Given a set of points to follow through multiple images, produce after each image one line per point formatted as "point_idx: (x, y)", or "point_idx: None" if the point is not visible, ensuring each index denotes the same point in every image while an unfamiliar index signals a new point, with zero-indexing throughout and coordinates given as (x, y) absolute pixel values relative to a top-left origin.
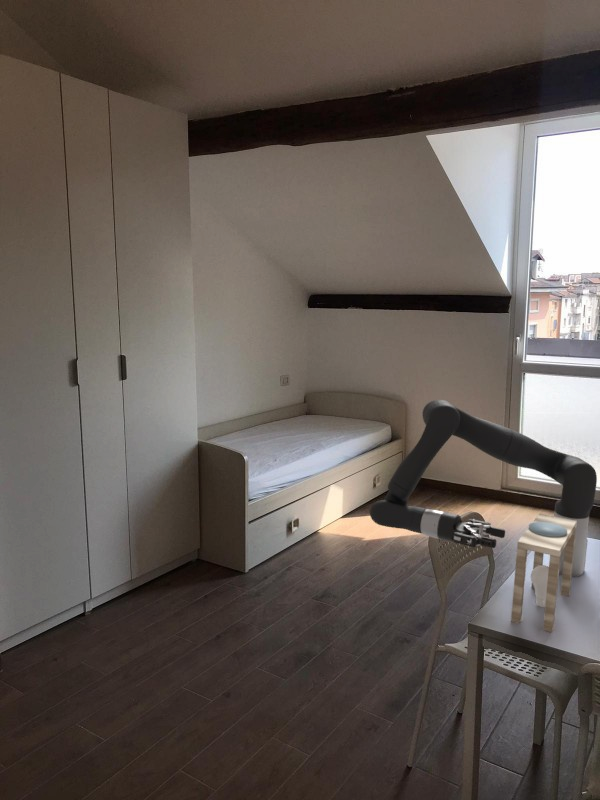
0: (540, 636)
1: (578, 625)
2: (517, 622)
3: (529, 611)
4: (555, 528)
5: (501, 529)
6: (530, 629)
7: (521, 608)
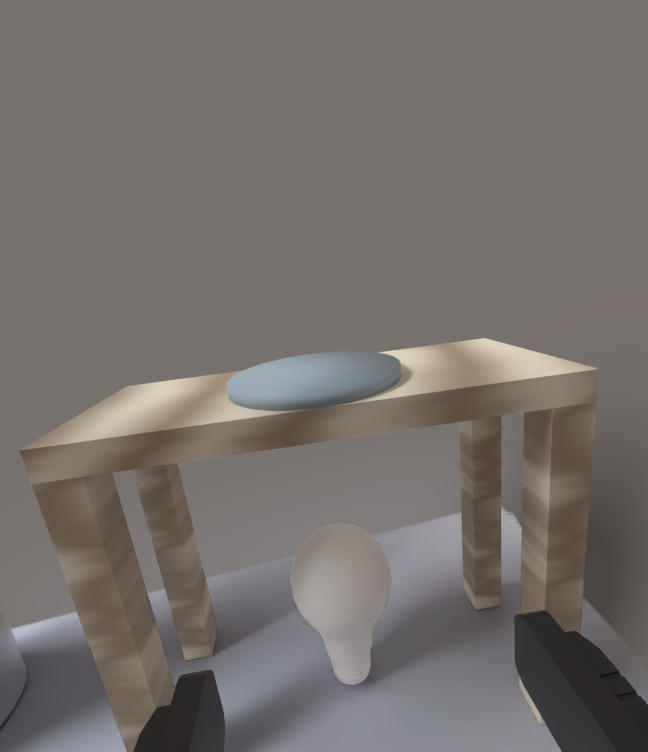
0: None
1: None
2: None
3: (423, 692)
4: (295, 365)
5: (188, 702)
6: None
7: None
